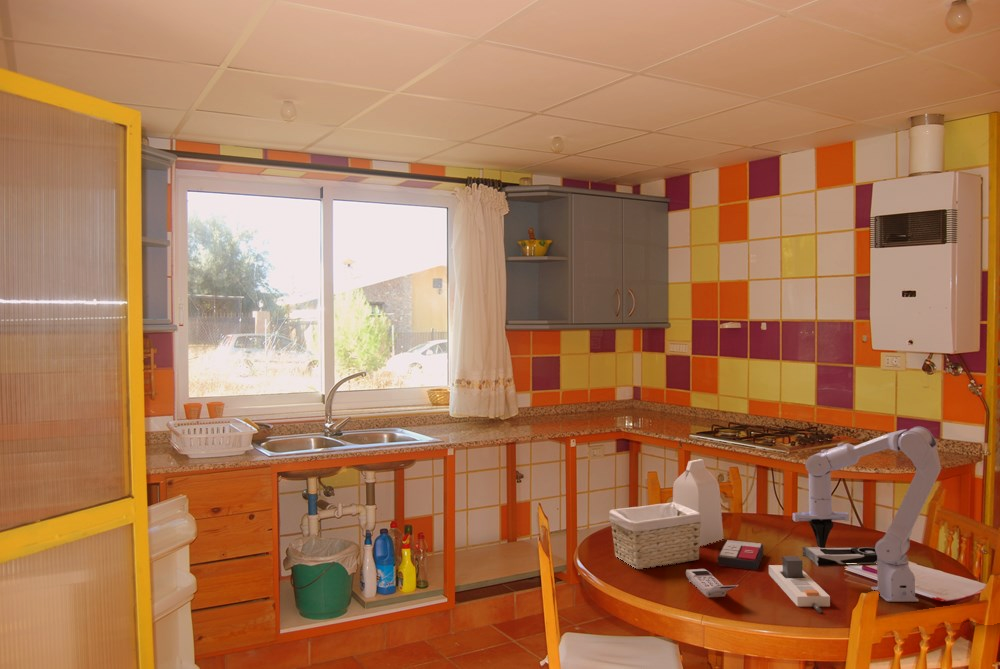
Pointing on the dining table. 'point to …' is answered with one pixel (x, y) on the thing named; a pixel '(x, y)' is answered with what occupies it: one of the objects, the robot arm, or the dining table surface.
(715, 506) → the milk
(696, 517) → the storage basket
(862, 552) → the graphics card
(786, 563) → the plug
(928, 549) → the dining table surface
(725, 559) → the dark grey box
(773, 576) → the power strip
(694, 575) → the mobile phone
